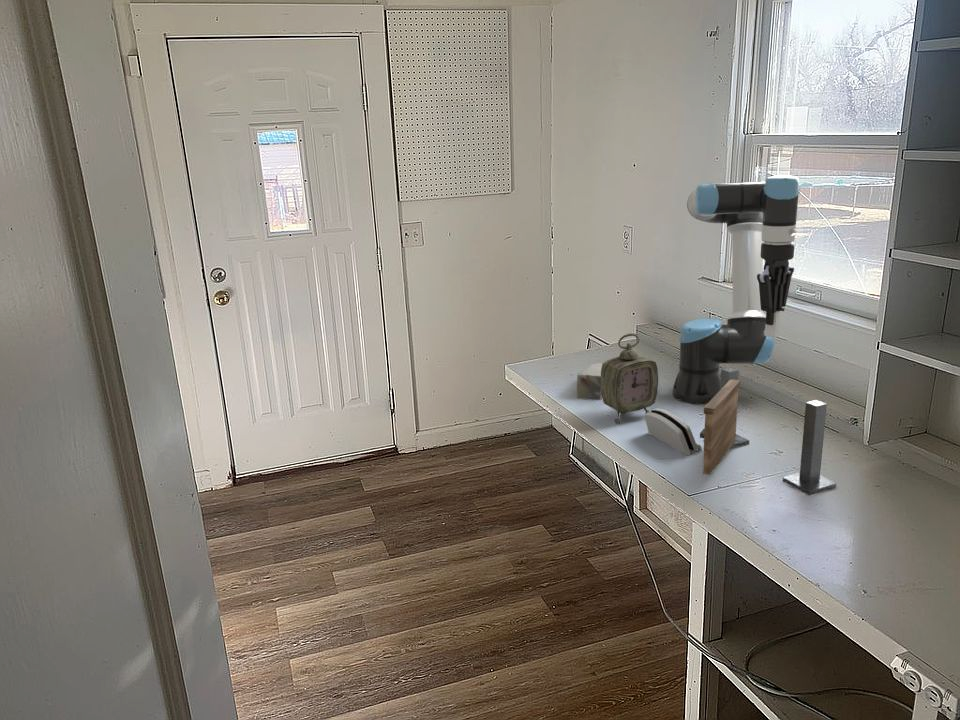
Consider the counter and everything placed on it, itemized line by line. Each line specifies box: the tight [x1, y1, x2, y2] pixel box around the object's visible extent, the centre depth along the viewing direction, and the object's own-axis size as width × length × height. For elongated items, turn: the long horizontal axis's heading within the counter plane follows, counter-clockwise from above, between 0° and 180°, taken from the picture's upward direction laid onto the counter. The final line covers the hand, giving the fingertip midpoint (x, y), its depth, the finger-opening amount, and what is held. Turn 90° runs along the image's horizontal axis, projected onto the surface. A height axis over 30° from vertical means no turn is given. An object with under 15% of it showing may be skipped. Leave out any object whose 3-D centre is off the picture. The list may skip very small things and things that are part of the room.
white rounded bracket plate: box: [644, 407, 703, 456], centre depth 196 cm, size 17×5×10 cm, turn 23°
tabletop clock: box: [600, 333, 659, 425], centre depth 212 cm, size 14×9×25 cm, turn 115°
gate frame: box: [720, 366, 837, 496], centre depth 181 cm, size 8×36×20 cm, turn 24°
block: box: [576, 363, 603, 401], centre depth 238 cm, size 19×8×8 cm, turn 157°
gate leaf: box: [699, 379, 741, 476], centre depth 182 cm, size 3×22×17 cm, turn 146°
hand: (771, 336), depth 187 cm, fingers closed
